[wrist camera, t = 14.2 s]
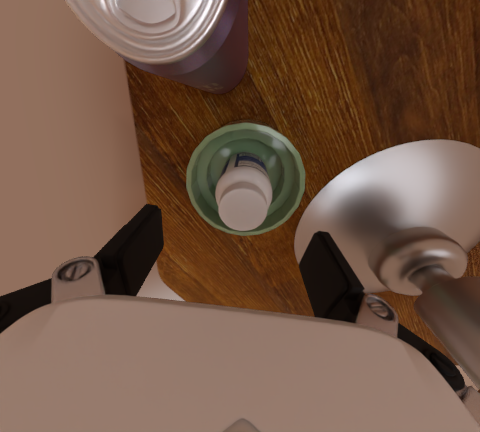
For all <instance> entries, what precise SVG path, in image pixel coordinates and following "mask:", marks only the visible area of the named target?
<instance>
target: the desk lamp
mask: <svg viewBox="0 0 480 432" xmlns="http://www.w3.org/2000/svg"><path fill="white" fill-rule="evenodd" d="M318 231H324V232H329V233H330V235H331V237H332V238H333V240H334V241H335V243H336V244H337V246H338V248H339V249H340V251H341V252H342V254H343V255H344V257H345V258H346V260H347V262H348V263H349V265H350V266H351V268H352V269H353V271H354V273H355V274H356V276H357V277H358V279H359V280H360V282H361V284H362V285H363V287H364V288H365V289H364V290H363V292H364V293H377V292H384V291H389V290H391V291H393V292H396V293H400V294H405V295H412V296H415V295H420V296H419V297H418V298H417V299H416V301H415V303H414V310H415V311H416V313H417V314H418V315H419V316H420V317H421V319H422V320H423V321H424V322H425V324H426V325H427V326H428V327H429V329H430V330H431V331H432V332H433V334H434V335H435V336H436V337H437V339H438V340H439V341H440V342H441V343H442V345H443V346H444V347H445V348H446V350H447V351H448V352H449V353H450V355H451V356H452V357H453V358H454V360H455V361H456V362H457V363H458V364H459V366H460V367H461V368H462V369H463V371H464V372H465V373H466V374H467V376H468V377H469V378H470V379H471V381H472V382H473V383H474V384H475V385H476V387H477V388H478V389H479V390H478V392H479V393H480V277H461V276H462V275H463V274H464V272H465V270H466V267H467V262H468V255H467V253H468V252H469V251H470V250H471V249H472V248H473V247H474V246H475V245H476V244H477V243H478V242H479V241H480V148H477V147H475V146H473V145H470V144H468V143H463V142H459V141H454V140H440V139H438V140H422V141H416V142H411V143H405V144H402V145H398V146H395V147H391V148H388V149H385V150H383V151H380V152H378V153H375V154H373V155H371V156H369V157H367V158H365V159H363V160H361V161H359V162H357V163H355V164H354V165H352V166H351V167H349V168H348V169H346V170H344V171H343V172H342V173H340V174H339V175H338V176H336V177H335V178H334V179H333V180H331V181H330V182H329V183H328V184H327V185H326V186H325V187H324V188H323V189H322V190H321V191H320V192H319V193H318V194H317V195H316V196H315V198H314V199H313V200H312V201H311V203H310V204H309V205H308V207H307V208H306V210H305V211H304V213H303V215H302V217H301V219H300V221H299V224H298V227H297V230H296V234H295V241H294V249H295V256H296V259H297V262H298V264H299V263H300V261H301V259H302V257H303V255H304V252H305V250H306V248H307V246H308V244H309V242H310V240H311V238H312V236H313V234H314V233H317V232H318ZM460 277H461V278H460Z"/></svg>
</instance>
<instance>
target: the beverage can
mask: <svg viewBox="0 0 480 432" xmlns="http://www.w3.org/2000/svg"><path fill="white" fill-rule="evenodd" d="M64 1H65V2H66V4H67V5H68V7H69V8H70V9H71V10H72V12H73V13H74V14H75V15H76V17H77V18H78V19H79V20H80V21H81V22H82V23H83V25H84V26H85V27H86V28H87V29H88V30H89V31H90V32H92V34H93V35H95V36H96V37H97V38H98V39H99V40H100V41H101V42H103V43H104V44H105V45H107V46H108V47H109V48H111V49H112V50H114V51H115V52H116V53H117V54H118V55H119V56H121V57H122V58H123V59H125V60H126V61H128V62H129V63H131V64H132V65H134V66H136V67H138V68H140V69H142V70H144V71H147V72H150V73H153V74H156V75H159V76H162V77H165V78H168V79H171V80H174V81H177V82H180V83H183V84H186V85H189V86H192V87H195V88H198V89H201V90H204V91H207V92H210V93H213V94H223V93H226V92H229V91H231V90H232V89H234V88H235V87H236V86H237V85H238V84H239V82H240V81H241V80H242V78H243V76H244V74H245V71H246V68H247V63H248V0H64Z"/></svg>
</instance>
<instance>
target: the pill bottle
mask: <svg viewBox="0 0 480 432" xmlns="http://www.w3.org/2000/svg"><path fill="white" fill-rule="evenodd" d="M215 197H216V202H217V204H218V212H219V216H220V218H221V220H222V221H223V222H224V223H225V224H226V225H227V226H228V227H230V228H232V229H234V230H238V231H248V230H252V229H255V228H257V227H258V226H260V225H261V224H262V223H263V221H264V220H265V218H266V216H267V211H268V208H269V206H270V204H271V201H272V186H271V183H270V180H269V176H268V173H267V169H266V167H265V164H264V162H263V161H262V159H261V158H260V157H259V156H257V155H256V154H253V153H251V152H239V153H236V154H234V155H233V156H231V157H230V158H229V159H228V161H227V162H226V164H225V165H224V168H223V171H222V173H221V176H220V178H219V180H218V183H217V186H216V191H215Z"/></svg>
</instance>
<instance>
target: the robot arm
mask: <svg viewBox="0 0 480 432" xmlns="http://www.w3.org/2000/svg"><path fill="white" fill-rule="evenodd" d="M163 245H164V241H163V228H162V215H161V209H159V208H158V206H156V205H149V204H146V205H145V206H144V207H143V208H142V209H141V210H140V211H139V212H138V213H137V214H136V215H135V216H134V217H133V218H132V219H131V221H129V222H128V223H127V224H126V225H124V226H123V227H122V228H121V229H120V230H119V231H118V232H117V233H116V235H115V236H114V237H113V238H112V239H111V240H110V241H109V242H108V243H107V244H106V245H105V246H104V247H103V248H102V249H101V250H100V251H99V252H98V253H97V254H96V255H95V256H94V257H78V258H74V259H71V260H68V261H66V262H64V263H63V264H61V265H60V266H59V267H57V268H56V270H55V271H54V272H53V274H52V278H51V279H48V280H45V281H43V282H40V283H37V284H34V285H31V286H29V287H26V288H23V289H20V290H17V291H15V292H12V293H9V294H6V295H3V296H0V432H480V393H479V392H478V391H476V390H475V389H474V388H473V387H472V386H469V387H467V386H466V385H465V382H464V379H463V377H462V375H461V374H460V371H459V370H458V369H457V367H456V366H455V365H454V364H453V363H452V362H451V361H450V360H449V359H448V358H447V357H446V356H445V355H443V354H442V353H441V352H440V351H438V350H437V349H435V348H434V347H432V346H431V345H430V344H428V343H427V342H425V341H424V340H422V339H421V338H420V337H418V336H417V335H415V334H414V333H412V332H411V331H410V330H408V329H407V328H405V327H404V326H402V325H401V324H400V323H398V315H397V313H396V311H395V310H394V309H393V307H392V306H391V305H390V304H389V303H388V302H387V301H385V300H384V299H382V298H381V297H379V296H377V295H373V294H366V295H365V293H364V292H363V290H364V289H365V288H364V287H363V285H362V284H361V282H360V280H359V279H358V277H357V276H356V274H355V273H354V271H353V269H352V268H351V266H350V265H349V263H348V262H347V260H346V258H345V257H344V255H343V254H342V252H341V251H340V249H339V248H338V246H337V244H336V243H335V241H334V240H333V238H332V237H331V235H330V233H329V232H324V231H318V232H317V233H314V234H313V236H312V238H311V240H310V242H309V244H308V246H307V248H306V250H305V252H304V255H303V257H302V259H301V261H300V263H299V269H300V272H301V275H302V278H303V281H304V284H305V287H306V290H307V293H308V297H309V300H310V303H311V306H312V309H313V312H314V315H315V317H309V316H301V315H294V314H286V313H278V312H270V311H261V310H253V309H245V308H236V307H228V306H220V305H211V304H202V303H194V302H185V301H175V300H167V299H158V298H147V297H137V296H136V295H137V293H138V292H139V290H140V288H141V286H142V285H143V283H144V281H145V279H146V277H147V276H148V274H149V272H150V270H151V268H152V266H153V265H154V263H155V261H156V260H157V258H158V256H159V254H160V252H161V251H162V249H163Z"/></svg>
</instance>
